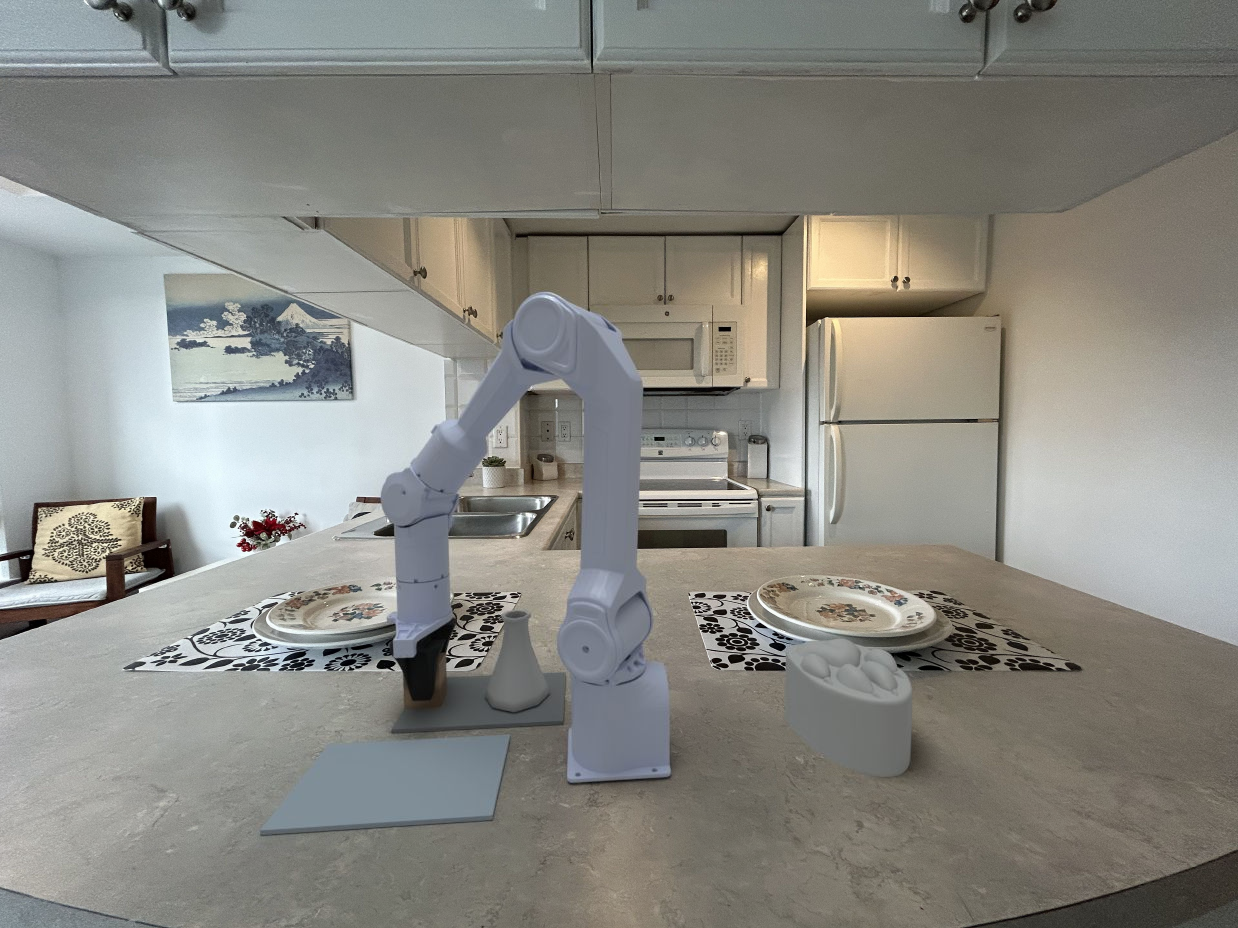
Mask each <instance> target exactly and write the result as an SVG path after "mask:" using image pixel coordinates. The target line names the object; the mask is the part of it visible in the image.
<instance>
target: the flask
mask: <svg viewBox="0 0 1238 928" xmlns="http://www.w3.org/2000/svg"><path fill="white" fill-rule="evenodd" d="M500 615H501V616H500V617H501V620H503V637H502V641H501V643H502V644H501V647H500V651H499V653H498V657H497V659H496V662H495V665H494V669H493V671H492V674H491V675H492V676H491V679H490V682H489V684H488V687H487V690H486V693H485V698H486V699H487V700H488V702H489V703H490V705H491V706H492V707H493V708H497V709H502V710H506V711H511V712H517V711H520V710H523V709H526V708H529V707H532V706H536V705H538V704H539V703H540V702H541V701H542V700H543V699H544V698H545V697H546V696H547V695H548V694H549V693H550V690H549V687H548V685H547V682H546V680H545V678H544V675H543V673H544V672H543V670H542V669H541V667H540V664H539V661H538V659H537V656H536V653H535V651H534V648H533V645H532V641H531V640H532V639H531V636H530V631H529V619H531V617H532V614H531V612H530V611H529V610H527V609H520V608H516V609H510V610H506V611H505V612H503V613H501V614H500Z"/></svg>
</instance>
